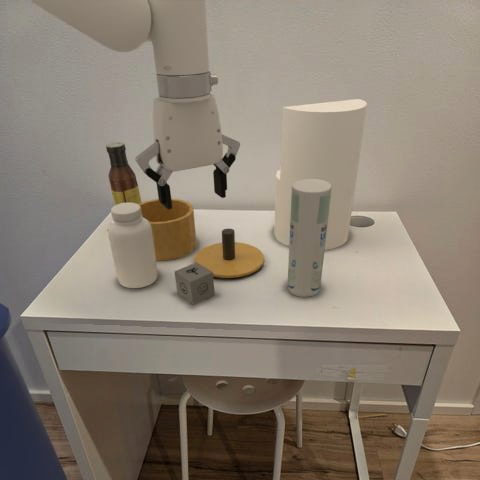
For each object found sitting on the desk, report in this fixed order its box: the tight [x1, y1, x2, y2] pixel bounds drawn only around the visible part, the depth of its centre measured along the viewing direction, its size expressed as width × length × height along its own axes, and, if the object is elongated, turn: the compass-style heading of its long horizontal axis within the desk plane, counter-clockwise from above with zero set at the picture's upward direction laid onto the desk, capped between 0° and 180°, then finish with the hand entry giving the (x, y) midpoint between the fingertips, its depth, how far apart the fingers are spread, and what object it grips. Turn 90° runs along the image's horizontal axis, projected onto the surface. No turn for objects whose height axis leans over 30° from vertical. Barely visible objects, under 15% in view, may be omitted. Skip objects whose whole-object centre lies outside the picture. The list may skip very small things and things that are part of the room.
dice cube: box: [174, 262, 215, 306], centre depth 81 cm, size 5×5×5 cm
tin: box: [138, 198, 197, 261], centre depth 96 cm, size 14×14×8 cm
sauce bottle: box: [105, 141, 143, 206], centre depth 101 cm, size 7×6×20 cm
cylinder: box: [273, 98, 368, 251], centre depth 94 cm, size 17×17×28 cm
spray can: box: [287, 179, 332, 298], centre depth 77 cm, size 6×6×20 cm
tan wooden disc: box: [193, 228, 265, 279], centre depth 90 cm, size 15×15×7 cm
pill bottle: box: [107, 203, 159, 289], centre depth 83 cm, size 8×8×15 cm
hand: (194, 200), depth 73 cm, fingers open, 9 cm apart
